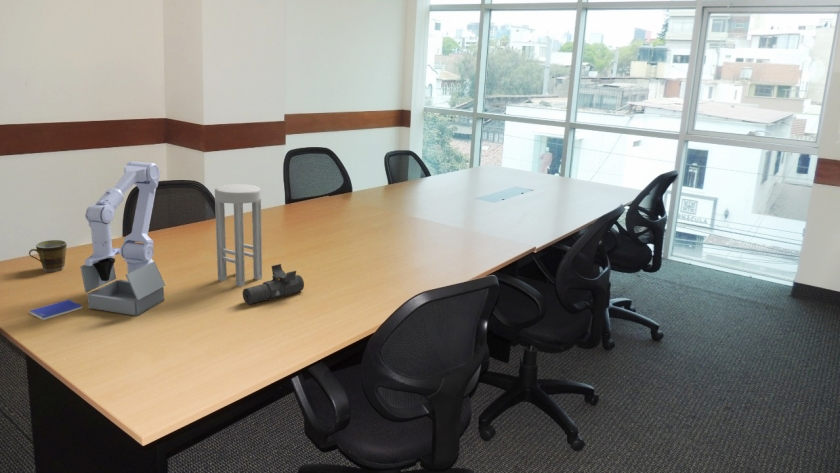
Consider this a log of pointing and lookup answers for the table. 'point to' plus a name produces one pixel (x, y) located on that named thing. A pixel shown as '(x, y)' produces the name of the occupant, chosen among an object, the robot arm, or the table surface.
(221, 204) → the stool
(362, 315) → the table surface
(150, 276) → the flap
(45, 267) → the ceramic cup
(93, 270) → the flap
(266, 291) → the laser sight
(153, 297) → the carton
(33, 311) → the hard drive
